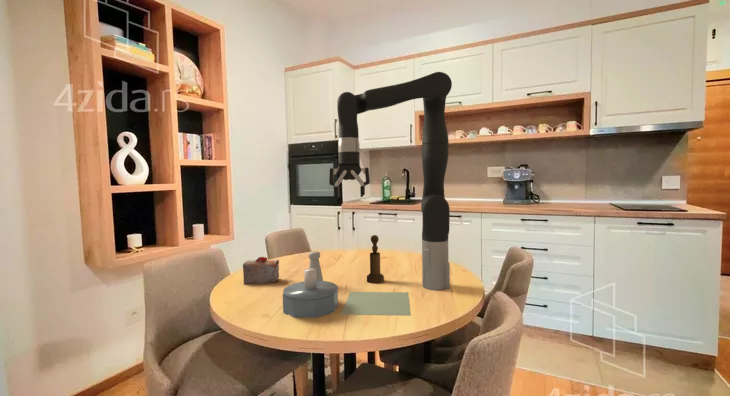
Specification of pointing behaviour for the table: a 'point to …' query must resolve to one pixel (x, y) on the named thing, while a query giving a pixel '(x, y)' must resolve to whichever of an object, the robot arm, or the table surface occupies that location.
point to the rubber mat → (377, 303)
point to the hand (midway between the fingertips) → (350, 197)
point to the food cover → (310, 297)
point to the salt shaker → (315, 264)
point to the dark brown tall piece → (375, 264)
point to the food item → (261, 271)
